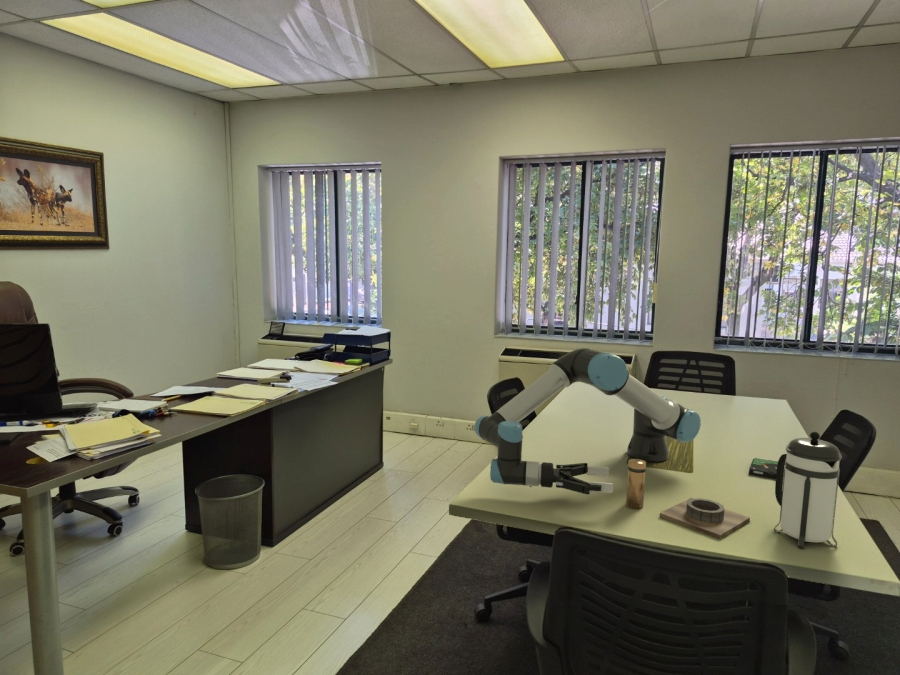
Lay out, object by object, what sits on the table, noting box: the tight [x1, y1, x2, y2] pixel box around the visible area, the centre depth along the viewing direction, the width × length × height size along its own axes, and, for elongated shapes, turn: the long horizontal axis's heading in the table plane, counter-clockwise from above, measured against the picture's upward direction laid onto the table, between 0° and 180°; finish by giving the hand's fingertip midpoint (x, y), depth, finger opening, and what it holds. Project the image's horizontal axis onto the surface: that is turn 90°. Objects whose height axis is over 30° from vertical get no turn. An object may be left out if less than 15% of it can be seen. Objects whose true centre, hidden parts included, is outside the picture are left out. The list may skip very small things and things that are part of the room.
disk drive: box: [748, 457, 778, 480], centre depth 215 cm, size 10×3×15 cm
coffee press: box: [773, 431, 843, 550], centre depth 162 cm, size 17×16×30 cm
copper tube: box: [625, 458, 647, 510], centre depth 182 cm, size 5×5×14 cm
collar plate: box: [659, 497, 751, 540], centre depth 174 cm, size 18×18×4 cm
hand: (610, 479), depth 183 cm, fingers open, 13 cm apart
